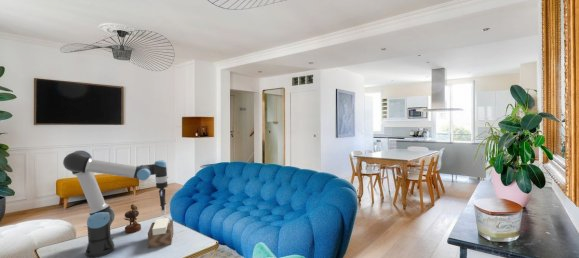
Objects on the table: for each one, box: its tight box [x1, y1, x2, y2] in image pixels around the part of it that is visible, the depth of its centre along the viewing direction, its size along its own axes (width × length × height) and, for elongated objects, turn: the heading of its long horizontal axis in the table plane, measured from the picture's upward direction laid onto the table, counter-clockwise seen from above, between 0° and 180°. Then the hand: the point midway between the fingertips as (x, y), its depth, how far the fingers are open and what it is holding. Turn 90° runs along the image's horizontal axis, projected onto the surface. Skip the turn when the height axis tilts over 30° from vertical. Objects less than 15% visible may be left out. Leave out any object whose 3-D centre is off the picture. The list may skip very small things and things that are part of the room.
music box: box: [123, 203, 142, 234], centre depth 205 cm, size 15×11×20 cm
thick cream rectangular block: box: [152, 217, 170, 235], centre depth 188 cm, size 8×18×4 cm, turn 18°
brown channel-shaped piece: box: [147, 219, 174, 249], centre depth 188 cm, size 14×18×10 cm
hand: (163, 213), depth 201 cm, fingers closed
